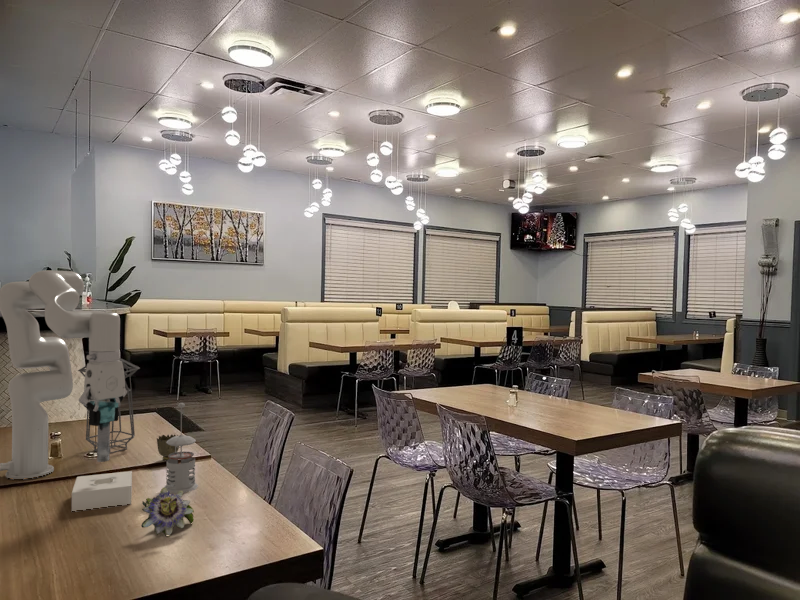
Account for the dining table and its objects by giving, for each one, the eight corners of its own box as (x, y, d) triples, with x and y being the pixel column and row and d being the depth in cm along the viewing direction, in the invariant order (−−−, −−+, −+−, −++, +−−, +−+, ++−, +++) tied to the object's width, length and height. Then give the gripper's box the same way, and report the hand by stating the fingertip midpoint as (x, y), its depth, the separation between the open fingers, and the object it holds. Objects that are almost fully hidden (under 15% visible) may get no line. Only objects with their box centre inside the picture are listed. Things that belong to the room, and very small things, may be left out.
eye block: (71, 511, 149) (71, 492, 149) (76, 494, 162) (77, 476, 161) (131, 504, 155) (131, 485, 154) (131, 488, 167) (131, 471, 167)
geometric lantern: (143, 448, 209) (142, 353, 208) (100, 460, 196) (100, 358, 194) (118, 441, 218) (117, 350, 216) (76, 452, 204) (75, 354, 203)
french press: (164, 495, 162) (165, 407, 161) (160, 483, 172) (161, 400, 172) (200, 490, 166) (201, 404, 166) (195, 478, 176) (195, 397, 176)
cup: (174, 463, 192) (174, 439, 192) (152, 463, 192) (152, 439, 192) (183, 457, 199) (183, 434, 199) (162, 456, 199) (162, 433, 199)
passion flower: (168, 558, 135) (140, 527, 129) (152, 535, 143) (125, 505, 137) (208, 523, 141) (184, 492, 135) (190, 502, 149) (167, 472, 142)
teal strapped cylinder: (123, 459, 159) (124, 401, 159) (107, 465, 154) (108, 404, 154) (99, 455, 162) (100, 398, 162) (82, 461, 157) (83, 402, 157)
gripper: (87, 361, 148) (87, 431, 149) (139, 355, 164) (138, 418, 165) (66, 359, 151) (65, 428, 151) (119, 353, 167) (118, 415, 167)
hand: (103, 422), depth 158 cm, fingers closed on teal strapped cylinder, 5 cm apart
